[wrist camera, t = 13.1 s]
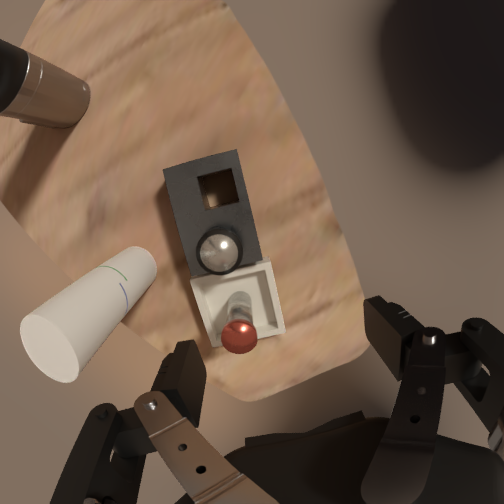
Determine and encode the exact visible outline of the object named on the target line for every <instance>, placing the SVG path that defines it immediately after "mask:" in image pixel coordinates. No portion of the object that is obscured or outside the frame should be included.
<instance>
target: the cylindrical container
mask: <svg viewBox="0 0 504 504" xmlns="http://www.w3.org/2000/svg"><path fill="white" fill-rule="evenodd" d="M156 274H157V266H156V263H155V260H154V258H153V257H152V255H151V254H150V253H149V252H148V251H147V250H145V249H143V248H141V247H136V246H134V247H129V248H127V249H125V250H123V251H122V252H120V253H118V254H117V255H115V256H113V257H112V258H110V259H109V260H107V261H106V262H104V263H102V264H101V265H99V266H98V267H96V268H95V269H93V270H92V271H90V272H88V273H87V274H85V275H84V276H82V277H81V278H79V279H78V280H76V281H75V282H73V283H72V284H71V285H69V286H68V287H66V288H65V289H63V290H62V291H60V292H59V293H57V294H56V295H55V296H53V297H52V298H50V299H49V300H48V301H46V302H45V303H43V304H42V305H41V306H39V307H38V308H37V309H35V310H34V311H32V312H31V313H30V314H28V315H27V316H26V317H24V319H23V320H22V322H21V326H20V334H21V339H22V343H23V345H24V348H25V350H26V352H27V354H28V355H29V357H30V358H31V360H32V361H33V362H34V364H35V365H36V366H37V367H38V368H39V369H40V370H41V371H42V372H43V373H45V374H46V375H47V376H49V377H51V378H52V379H54V380H56V381H59V382H64V383H69V382H72V381H74V380H75V379H76V378H77V377H78V375H79V374H80V373H81V371H82V370H83V369H84V367H85V366H86V365H87V363H88V362H89V361H90V359H91V358H92V357H93V355H94V354H95V353H96V351H97V350H98V349H99V348H100V346H101V345H102V344H103V343H104V341H105V340H106V338H107V337H108V336H109V335H110V333H111V332H112V331H113V330H114V329H115V327H116V326H117V325H118V324H119V322H120V321H121V320H122V319H123V317H124V316H125V315H126V314H127V313H128V311H129V310H130V309H131V308H132V307H133V305H134V304H135V303H136V302H137V301H138V299H139V298H140V297H141V296H142V295H143V293H144V292H145V291H146V290H147V289H148V287H149V286H150V285H151V284H152V283H153V281H154V280H155V278H156Z"/></svg>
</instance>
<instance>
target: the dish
mask: <svg viewBox="0 0 504 504" xmlns="http://www.w3.org/2000/svg"><path fill="white" fill-rule="evenodd" d="M262 258H263V260H262V261H258V262H253V263H249V264H245V265H241V266H238V268H237V269H236V270H234V271H233V272H231V273H229V274H227V275H220V276H219V275H213V274H210V273H206V274H201V275H197V276H191V278H190V283H191V286H192V289H193V292H194V295H195V298H196V301H197V304H198V307H199V310H200V313H201V316H202V319H203V322H204V325H205V328H206V331H207V333H208V336H209V339H210V342H211V345H212V347H219V346H223V345H222V342H221V333H222V329H223V327H224V325H225V324H226V319H227V311H228V302H229V298H230V296H231V295H232V294H233V293H234V292H237V291H244V292H246V293H248V294H249V295H250V297H251V300H252V313H253V325H254V326H255V328H256V330H257V339H259V338H264V337H269V336H273V335H277V334H282V333H286V330H285V325H284V321H283V316H282V311H281V307H280V302H279V298H278V293H277V288H276V284H275V279H274V275H273V270H272V266H271V261H270V258H269V256H266V257H262Z"/></svg>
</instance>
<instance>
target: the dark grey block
mask: <svg viewBox="0 0 504 504" xmlns="http://www.w3.org/2000/svg"><path fill="white" fill-rule="evenodd" d="M229 170H232V172H233V176H234V180H235V185H236V189H237V193H238V197H239V200H238V201H234V202H230V203H226V204H222V205H218V206H214V207H210V206H209V202H208V198H207V194H206V190H205V186H204V182H203V178H202V177H206V176H210V175H213V174H217V173H221V172H225V171H229ZM163 173H164V178H165V182H166V186H167V190H168V194H169V198H170V202H171V206H172V209H173V213H174V217H175V221H176V224H177V228H178V232H179V235H180V239H181V242H182V246H183V249H184V253H185V256H186V259H187V263H188V266H189V269H190V273H191V276H197V275H201V274H206V273H210V274H213V275H219V276H220V275H227V274H229V273H231V272H233V271H234V270H236V269H237V268H238V266H241V265H245V264H249V263H253V262H258V261H262V260H263V258H262V254H261V249H260V245H259V241H258V237H257V232H256V228H255V224H254V219H253V215H252V211H251V207H250V203H249V198H248V194H247V190H246V186H245V182H244V177H243V173H242V169H241V165H240V161H239V157H238V152H237V149H235V150H231V151H227V152H223V153H219V154H215V155H211V156H207V157H204V158H200V159H196V160H193V161H189V162H186V163H182V164H179V165H176V166H172V167H169V168H166V169H163Z"/></svg>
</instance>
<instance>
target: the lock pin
mask: <svg viewBox="0 0 504 504" xmlns="http://www.w3.org/2000/svg"><path fill="white" fill-rule="evenodd" d="M257 340H258V339H257V330H256V328H255V326H254V325H253V313H252V300H251V297H250V295H249V294H248V293H246V292H244V291H237V292H234V293H233V294H232V295H231V296H230V298H229V302H228V311H227V319H226V324H225V325H224V327H223V329H222V333H221V342H222V345H223V346H224V347H225V349H227V350H228V351H230V352H232V353H236V354H244V353H247V352H249V351H251V350H252V349H253V348H254V347H255V346H256V344H257Z"/></svg>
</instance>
